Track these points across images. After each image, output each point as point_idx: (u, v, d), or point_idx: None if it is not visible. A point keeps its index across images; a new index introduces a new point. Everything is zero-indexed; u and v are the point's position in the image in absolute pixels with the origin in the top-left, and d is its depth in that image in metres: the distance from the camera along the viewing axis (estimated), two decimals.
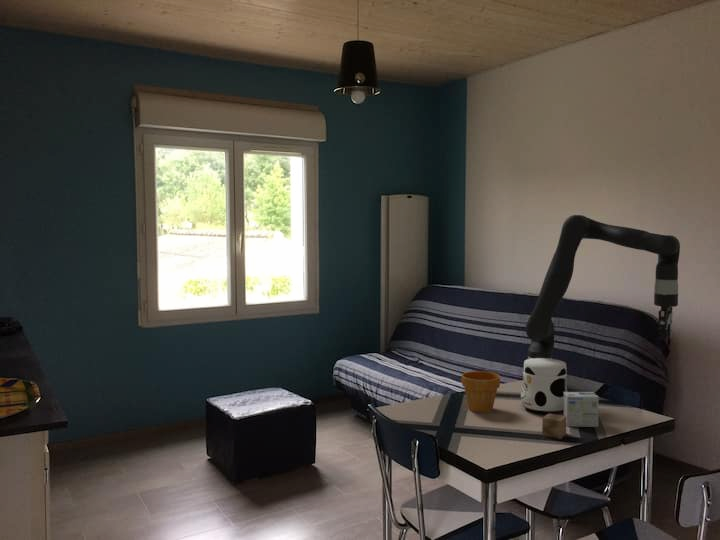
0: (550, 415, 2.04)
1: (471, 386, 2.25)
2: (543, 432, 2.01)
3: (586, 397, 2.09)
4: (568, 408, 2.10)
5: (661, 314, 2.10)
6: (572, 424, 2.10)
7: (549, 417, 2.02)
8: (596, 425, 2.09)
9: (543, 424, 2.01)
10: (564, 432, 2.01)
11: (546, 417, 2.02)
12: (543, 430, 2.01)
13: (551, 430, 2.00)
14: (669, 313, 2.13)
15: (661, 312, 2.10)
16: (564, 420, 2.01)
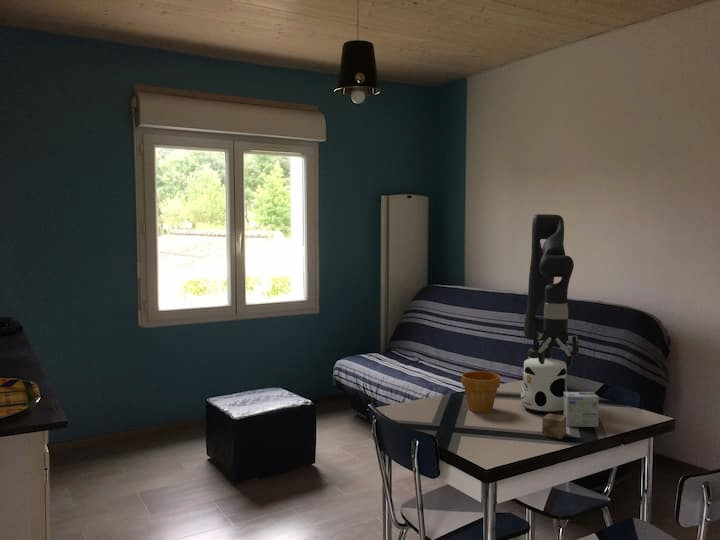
0: (550, 415, 2.04)
1: (471, 386, 2.25)
2: (543, 432, 2.01)
3: (586, 397, 2.09)
4: (568, 408, 2.10)
5: (576, 340, 1.96)
6: (572, 424, 2.10)
7: (549, 417, 2.02)
8: (596, 425, 2.09)
9: (543, 424, 2.01)
10: (564, 432, 2.01)
11: (546, 417, 2.02)
12: (543, 430, 2.01)
13: (551, 430, 2.00)
14: None
15: (576, 337, 1.96)
16: (564, 420, 2.01)
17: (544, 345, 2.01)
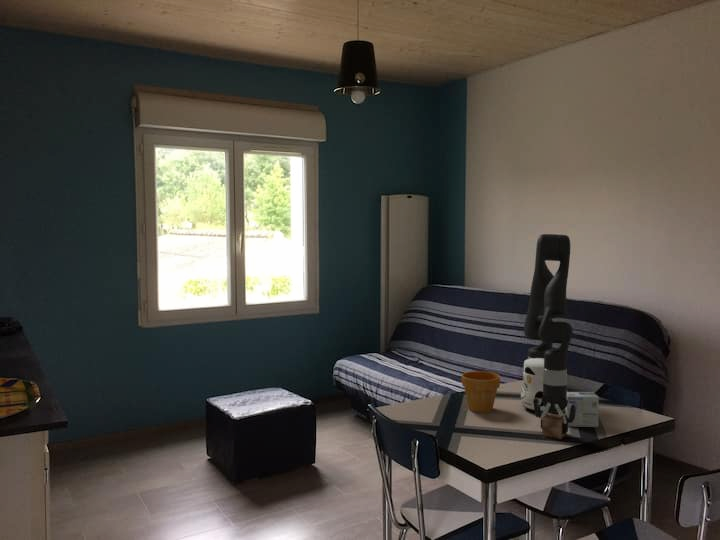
0: (550, 414, 2.04)
1: (471, 386, 2.25)
2: (543, 432, 2.01)
3: (586, 397, 2.09)
4: (568, 408, 2.10)
5: (575, 408, 1.97)
6: (572, 424, 2.10)
7: (549, 416, 2.02)
8: (596, 425, 2.09)
9: (543, 424, 2.01)
10: None
11: (546, 417, 2.02)
12: (543, 430, 2.01)
13: (551, 430, 2.00)
14: None
15: (575, 406, 1.97)
16: None
17: (545, 411, 2.02)
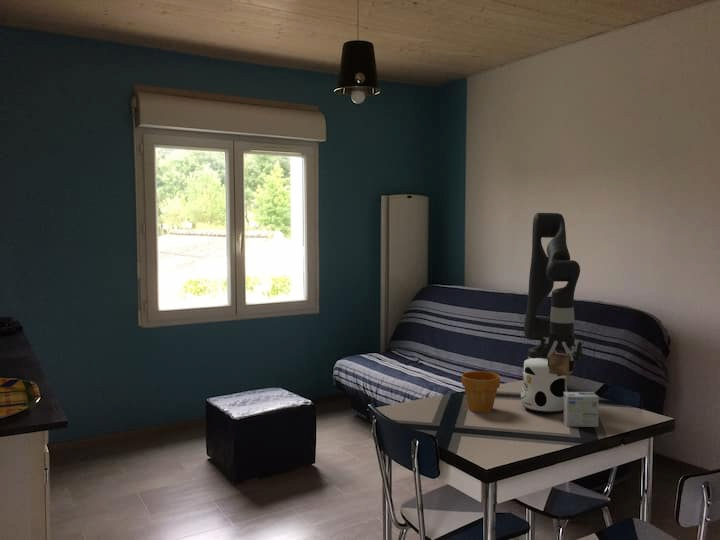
0: (557, 353, 2.06)
1: (471, 386, 2.25)
2: (550, 370, 2.03)
3: (586, 397, 2.09)
4: (568, 408, 2.10)
5: (581, 346, 1.99)
6: (572, 424, 2.10)
7: (556, 355, 2.04)
8: (596, 425, 2.09)
9: (550, 362, 2.03)
10: None
11: (553, 355, 2.04)
12: (550, 368, 2.03)
13: (558, 367, 2.02)
14: None
15: (582, 343, 1.99)
16: None
17: (552, 349, 2.04)
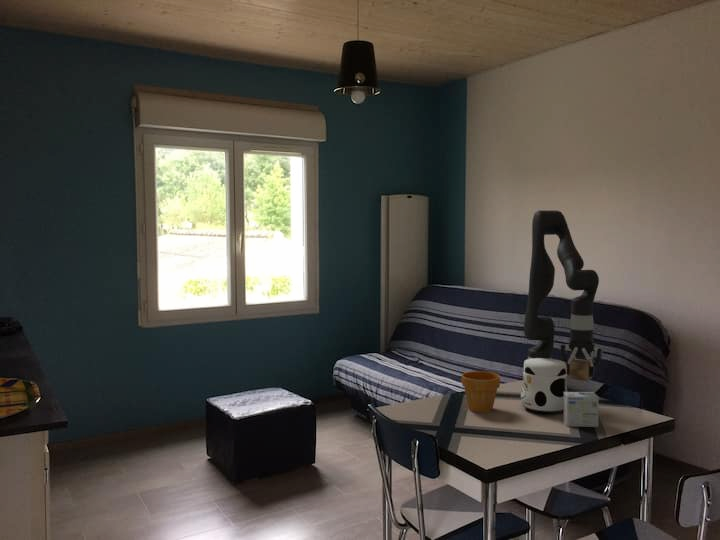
0: (576, 359, 2.14)
1: (471, 386, 2.25)
2: (570, 375, 2.11)
3: (586, 397, 2.09)
4: (568, 408, 2.10)
5: (601, 352, 2.07)
6: (572, 424, 2.10)
7: (576, 361, 2.12)
8: (596, 425, 2.09)
9: (570, 367, 2.11)
10: None
11: (573, 361, 2.11)
12: (570, 373, 2.11)
13: (578, 373, 2.09)
14: None
15: (601, 350, 2.07)
16: None
17: (572, 356, 2.11)
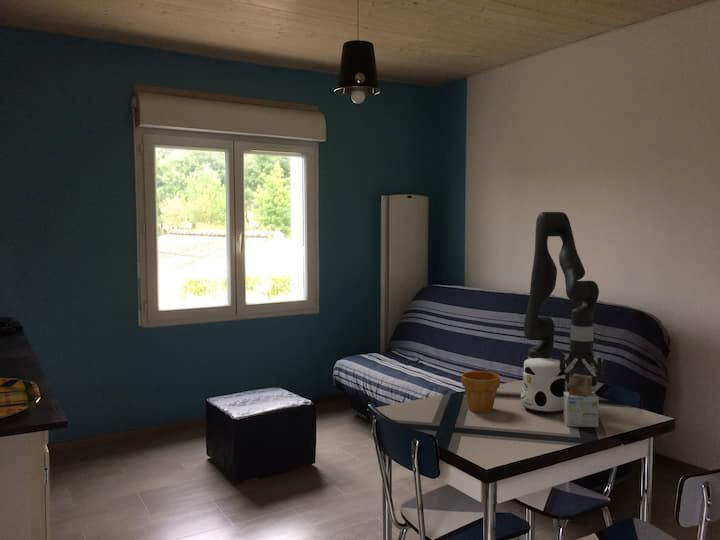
0: (576, 375, 2.14)
1: (471, 386, 2.25)
2: (570, 391, 2.11)
3: (586, 397, 2.09)
4: (568, 408, 2.10)
5: (601, 361, 2.07)
6: (572, 424, 2.10)
7: (575, 376, 2.12)
8: (596, 425, 2.09)
9: (570, 383, 2.11)
10: (589, 391, 2.11)
11: (572, 376, 2.12)
12: (570, 389, 2.11)
13: (577, 388, 2.10)
14: None
15: (601, 359, 2.07)
16: (590, 379, 2.11)
17: (570, 365, 2.12)
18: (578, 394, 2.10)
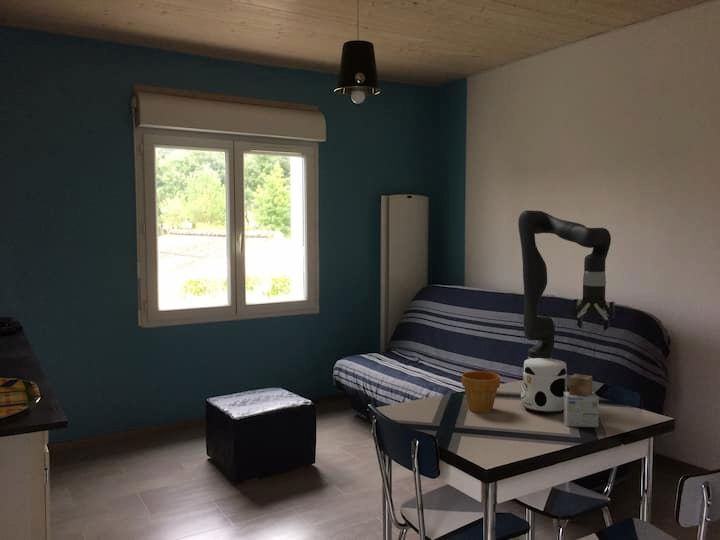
0: (576, 375, 2.14)
1: (471, 386, 2.25)
2: (570, 390, 2.11)
3: (586, 397, 2.09)
4: (568, 408, 2.10)
5: (613, 305, 2.14)
6: (572, 424, 2.10)
7: (575, 376, 2.12)
8: (596, 425, 2.09)
9: (570, 383, 2.11)
10: (590, 391, 2.11)
11: (573, 376, 2.12)
12: (570, 389, 2.11)
13: (578, 388, 2.10)
14: None
15: (613, 303, 2.13)
16: (590, 379, 2.11)
17: (583, 310, 2.19)
18: (578, 394, 2.10)
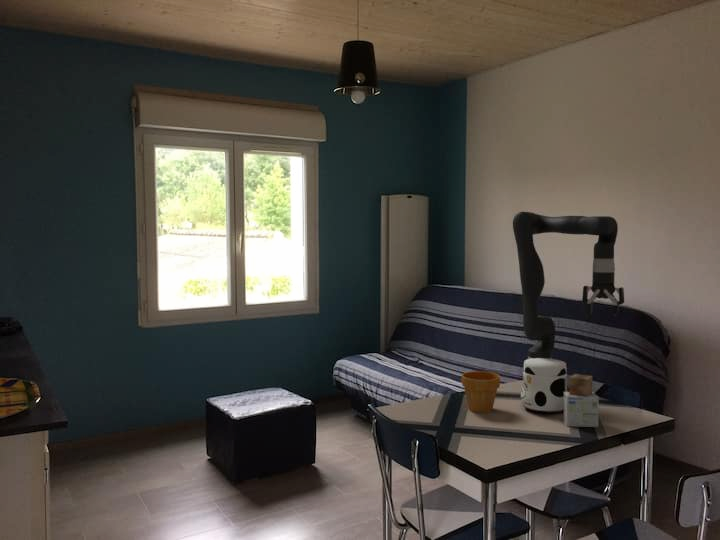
0: (576, 375, 2.14)
1: (471, 386, 2.25)
2: (570, 391, 2.11)
3: (586, 397, 2.09)
4: (568, 408, 2.10)
5: (622, 290, 2.21)
6: (572, 424, 2.10)
7: (575, 376, 2.12)
8: (596, 425, 2.09)
9: (570, 383, 2.11)
10: (590, 391, 2.11)
11: (573, 376, 2.12)
12: (570, 389, 2.11)
13: (578, 388, 2.10)
14: None
15: (622, 289, 2.21)
16: (590, 379, 2.11)
17: (593, 296, 2.26)
18: (578, 394, 2.10)
